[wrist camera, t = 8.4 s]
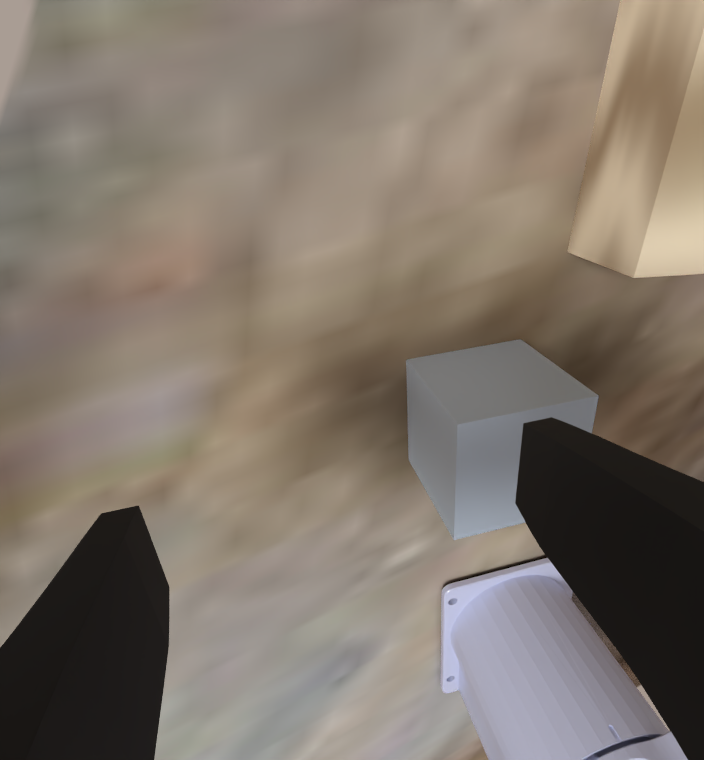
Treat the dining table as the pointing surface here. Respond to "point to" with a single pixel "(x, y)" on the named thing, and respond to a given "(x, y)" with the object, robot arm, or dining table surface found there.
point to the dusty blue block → (483, 426)
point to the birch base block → (647, 146)
